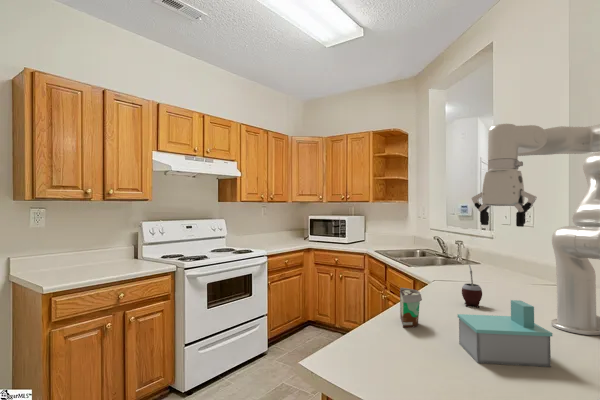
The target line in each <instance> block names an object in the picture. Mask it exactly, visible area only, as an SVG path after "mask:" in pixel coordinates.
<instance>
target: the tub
mask: <svg viewBox="0 0 600 400" xmlns="http://www.w3.org/2000/svg"><path fill="white" fill-rule="evenodd" d="M458 333H459V334H458V335H459V336H458V339H459V342H458V344H459V345H460V346H461V347H462V348H463V349H464V351H465V352H467V354H469V356H470V357H472V359H474V361H475V362H476V363H477V364H492V365H505V366H509V365H510V366H523V367H524V366H526V367H527V366H528V367H546V368H551V367H552V366H551V365H552V363H551V362H552V360H551V359H552V358H551V357H552V356H551V355H552V354H551V336H530V335H508V334H486V333H476V332H475V331H474V330H472V329H471V328H470V327H469V326H468V325H466V324H465V323H464V322H463V321H462V320H460V319H459V318H458Z"/></svg>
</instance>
